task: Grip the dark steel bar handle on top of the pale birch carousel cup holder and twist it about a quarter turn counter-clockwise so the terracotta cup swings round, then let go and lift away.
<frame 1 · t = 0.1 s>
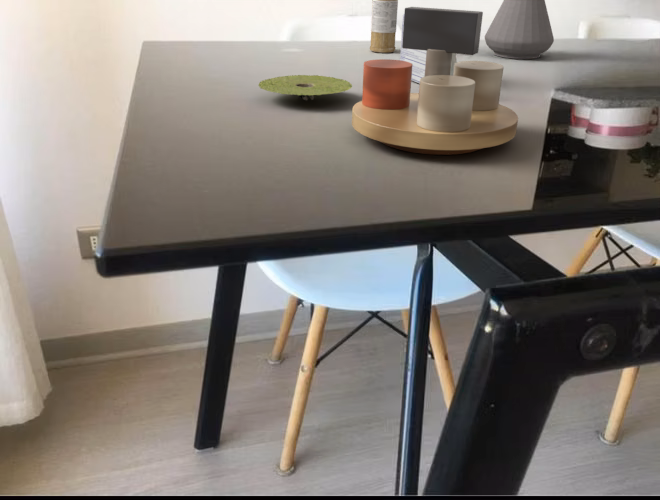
green flat disc: (305, 101, 77), on the table
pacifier: (456, 98, 80), on the table
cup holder: (437, 70, 60), point 7 cm above the table, hinge at 0.0°
holder base: (431, 137, 63), on the table
sprinkles bottle: (382, 52, 111), on the table
medicine box: (425, 82, 88), on the table
coffee pot: (545, 59, 107), on the table
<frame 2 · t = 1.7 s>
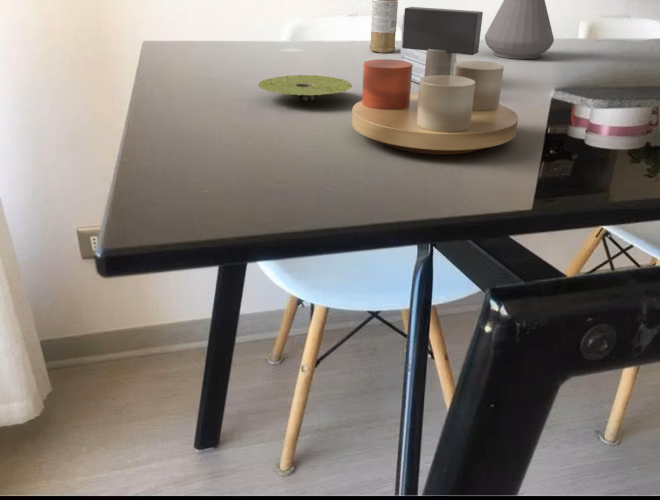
nothing on the table moved.
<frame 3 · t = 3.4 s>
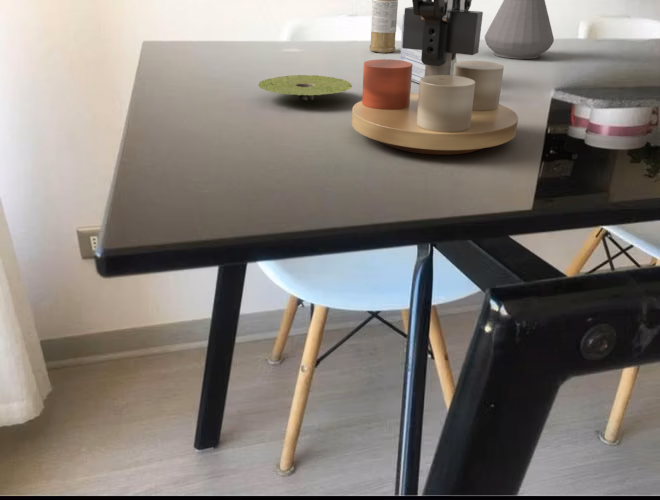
hand: (438, 61, 60), 7 cm above the table, tool pointing down, fingers closed on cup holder, 2 cm apart
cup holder: (437, 70, 60), point 7 cm above the table, hinge at 0.0°, touching gripper
everything else where it was.
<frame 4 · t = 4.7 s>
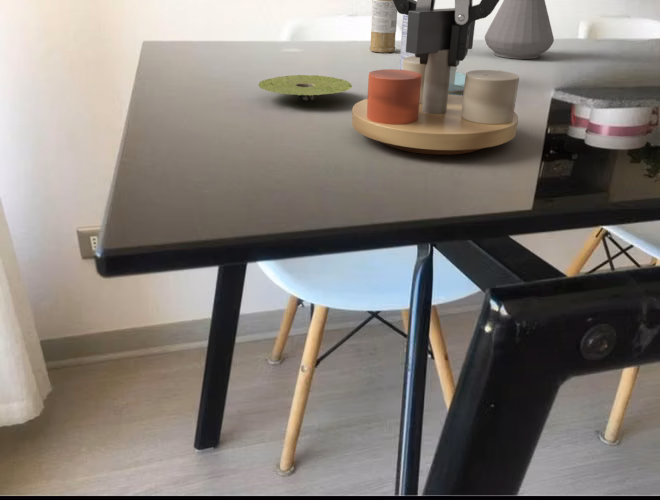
hand: (439, 63, 60), 7 cm above the table, tool pointing down, fingers closed on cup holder, 2 cm apart
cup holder: (437, 70, 60), point 7 cm above the table, hinge at 63.0°, touching gripper
everything else where it was.
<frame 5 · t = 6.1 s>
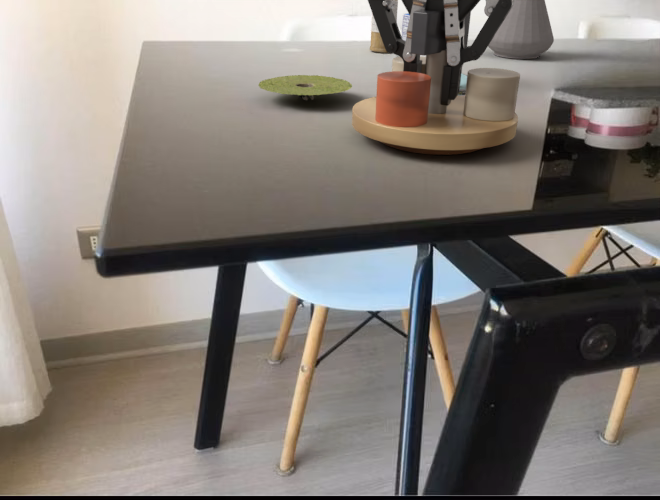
hand: (429, 101, 61), 4 cm above the table, tool pointing down, fingers closed
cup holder: (437, 70, 60), point 7 cm above the table, hinge at 75.6°, touching gripper
everything else where it was.
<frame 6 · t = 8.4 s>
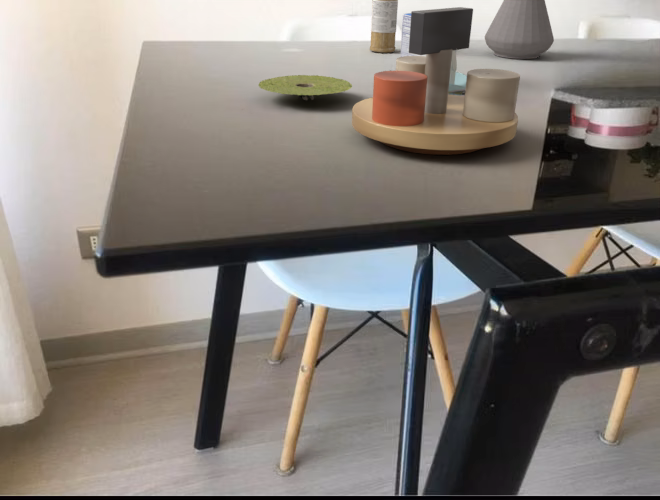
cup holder: (437, 70, 60), point 7 cm above the table, hinge at 71.1°
everything else where it was.
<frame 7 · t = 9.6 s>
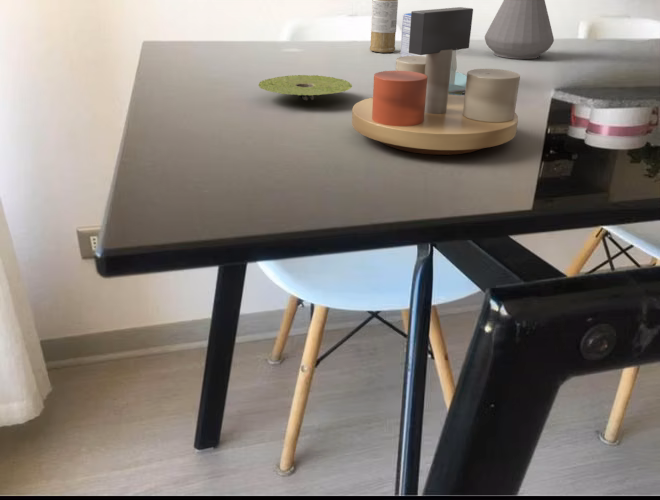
nothing on the table moved.
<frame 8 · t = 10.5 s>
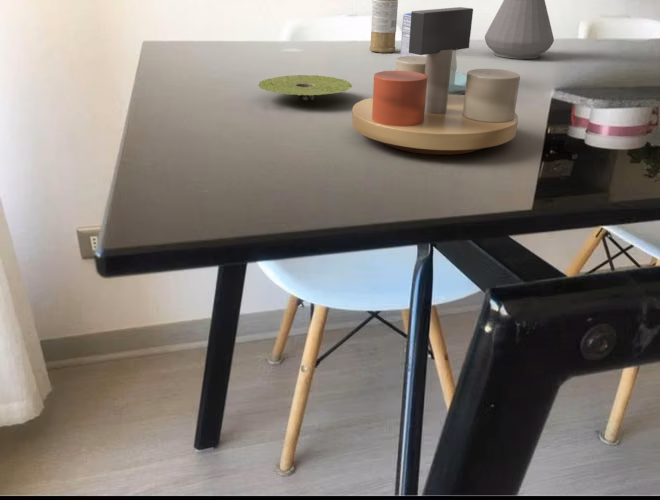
nothing on the table moved.
at the end: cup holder at +71° (first picture: +0°); the gripper is holding nothing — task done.
